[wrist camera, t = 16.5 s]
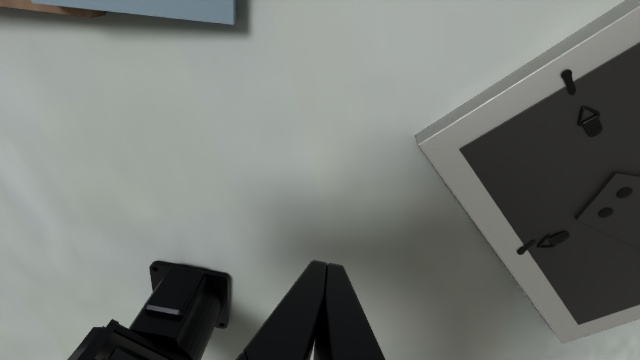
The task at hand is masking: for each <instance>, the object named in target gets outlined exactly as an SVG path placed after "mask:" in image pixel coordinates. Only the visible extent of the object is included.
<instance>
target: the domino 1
mask: <svg viewBox="0 0 640 360" xmlns="http://www.w3.org/2000/svg"><path fill="white" fill-rule="evenodd" d="M0 6H1V7H9V8H17V9H25V10H33V11H41V12H49V13H57V14H65V15H73V16H81V17H89V18H93V17H98V16H102V15H105V11H102V10H93V9H83V8H74V7H65V6H56V5H46V4H37V3H32V1H31V0H0Z"/></svg>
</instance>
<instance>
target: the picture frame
mask: <svg viewBox="0 0 640 360" xmlns="http://www.w3.org/2000/svg"><path fill="white" fill-rule="evenodd" d="M415 138H416V141H417V144H418V145H419V147H420V148H421V150H422V151H423V152H424V154H425V155H426V157H427V158H428V159H429V161H430V162H431V163H432V165H433V166H434V168H435V169H436V170H437V172H438V173H439V174H440V176H441V177H442V179H443V180H444V181H445V183H446V184H447V185H448V187H449V188H450V190H451V191H452V192H453V194H454V195H455V197H456V198H457V199H458V201H459V202H460V203H461V205H462V206H463V208H464V209H465V210H466V212H467V213H468V214H469V216H470V217H471V219H472V220H473V221H474V223H475V224H476V225H477V227H478V228H479V230H480V231H481V232H482V234H483V235H484V236H485V238H486V239H487V241H488V242H489V243H490V245H491V246H492V248H493V249H494V250H495V252H496V253H497V254H498V256H499V257H500V259H501V260H502V261H503V263H504V264H505V265H506V267H507V268H508V270H509V271H510V272H511V274H512V275H513V276H514V278H515V279H516V281H517V282H518V283H519V285H520V286H521V288H522V289H523V290H524V292H525V293H526V294H527V296H528V297H529V299H530V300H531V301H532V303H533V304H534V305H535V307H536V308H537V310H538V311H539V312H540V314H541V315H542V316H543V318H544V319H545V321H546V322H547V323H548V325H549V326H550V327H551V329H552V330H553V332H554V333H555V334H556V336H557V337H558V339H559V340H560V341H561V343H566V342H569V341H572V340H575V339H578V338H581V337H584V336H588V335H591V334H594V333H597V332H600V331H603V330H606V329H610V328H613V327H616V326H619V325H622V324H625V323H628V322H632V321H635V320H638V319H640V0H625V1H624V2H622V3H620V4H619V5H617V6H616V7H614V8H613V9H611V10H610V11H608V12H606V13H605V14H603V15H602V16H600V17H599V18H597V19H595V20H594V21H592V22H591V23H589V24H588V25H586V26H585V27H583V28H581V29H580V30H578V31H577V32H575V33H574V34H572V35H570V36H569V37H567V38H566V39H564V40H563V41H561V42H560V43H558V44H556V45H555V46H553V47H552V48H550V49H549V50H547V51H545V52H544V53H542V54H541V55H539V56H538V57H536V58H535V59H533V60H531V61H530V62H528V63H527V64H525V65H524V66H522V67H520V68H519V69H517V70H516V71H514V72H513V73H511V74H510V75H508V76H506V77H505V78H503V79H502V80H500V81H499V82H497V83H495V84H494V85H492V86H491V87H489V88H488V89H486V90H485V91H483V92H481V93H480V94H478V95H477V96H475V97H474V98H472V99H470V100H469V101H467V102H466V103H464V104H463V105H461V106H460V107H458V108H456V109H455V110H453V111H452V112H450V113H449V114H447V115H446V116H444V117H442V118H441V119H439V120H438V121H436V122H435V123H433V124H431V125H430V126H428V127H427V128H425V129H424V130H422V131H421V132H419V133H417V134H416V135H415Z"/></svg>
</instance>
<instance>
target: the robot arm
mask: <svg viewBox="0 0 640 360" xmlns="http://www.w3.org/2000/svg"><path fill="white" fill-rule="evenodd" d="M149 269H150V275H151V282H152V289H153V293H152V294H151V296H150V297H149V299H148V300H147V302H146V303H145V305H144V307H143V308H142V309H141V311H140V312H139V314H138V315H137V317H136V318H135V320H134V321H133V323H132V324H131V326H130V327H129V329H128V328H126V327H124V326H122V325H120V324H119V322H117V321H115V320H113V319H112V320H111V321H110V322H109V324H108V325H107V326H106V327H104V326H103V327H93V328H92V330H91V331H90V332H89V334H88V335H87V336H86V337H85V339H84V340H83V341H82V343H81V344H80V345H79V346H78V348H77V349H76V350H75V351H74V352H73V354H72V355H71V356H70V357H69V358H68V360H201V358H202V355H203V353H204V351H205V348H206V346H207V344H208V341H209V339H210V337H211V334H212V332H213V329H214V327H217V328H227V326H228V323H229V280H230V279H229V276H228V275H227V274H224V273H219V272H214V271H208V270H203V269H197V268H192V267H186V266H180V265H175V264H169V263H164V262H158V261H154V262H153V263H152V264H151V265H150V268H149ZM222 279H223V280H222ZM314 341H315V343H314ZM313 346H314V360H385V358H384V355H383V353H382V351H381V349H380V347H379V344H378V342H377V340H376V338H375V336H374V333H373V331H372V329H371V327H370V324H369V322H368V320H367V318H366V316H365V313H364V311H363V309H362V307H361V304H360V302H359V300H358V298H357V296H356V293H355V291H354V289H353V287H352V285H351V282H350V280H349V278H348V276H347V273H346V271H345V269H344V267H343V266H342V265H339V264H333V263H329V264H328V265H327V263H326V262H322V261H316V260H313V261H311V262H310V264H309V265H308V266H307V268H306V269H305V270H304V272H303V273H302V274H301V276H300V277H299V278H298V279H297V281H296V282H295V283H294V285H293V286H292V287H291V289H290V290H289V291H288V293H287V294H286V295H285V296H284V298H283V299H282V300H281V302H280V303H279V304H278V306H277V307H276V308H275V310H274V311H273V312H272V313H271V315H270V316H269V317H268V319H267V320H266V321H265V323H264V324H263V325H262V327H261V328H260V329H259V330H258V332H257V333H256V334H255V336H254V337H253V338H252V340H251V341H250V342H249V344H248V345H247V346H246V347H245V349H244V350H243V353H241V354H240V355H239V356H238V358H237V359H236V360H310V358H311V354H312V350H313Z"/></svg>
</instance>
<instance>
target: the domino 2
mask: <svg viewBox="0 0 640 360" xmlns="http://www.w3.org/2000/svg"><path fill="white" fill-rule="evenodd" d="M31 1H32V3H37V4H46V5H56V6H65V7H74V8H83V9H93V10H102V11H111V12H120V13H130V14H139V15H148V16H157V17H166V18H176V19H185V20H194V21H203V22H213V23H222V24H231V25H234V23H235V22H236V0H31Z"/></svg>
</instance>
